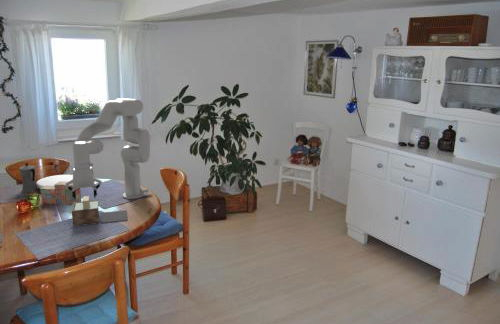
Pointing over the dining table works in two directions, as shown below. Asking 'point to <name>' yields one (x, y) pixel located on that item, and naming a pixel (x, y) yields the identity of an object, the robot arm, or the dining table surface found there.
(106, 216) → the grey flat slab
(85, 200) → the lid
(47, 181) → the plate
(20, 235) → the dining table surface
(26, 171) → the coffeepot
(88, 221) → the box
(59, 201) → the stack of blocks
